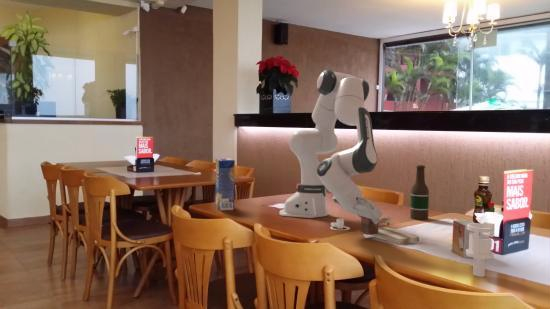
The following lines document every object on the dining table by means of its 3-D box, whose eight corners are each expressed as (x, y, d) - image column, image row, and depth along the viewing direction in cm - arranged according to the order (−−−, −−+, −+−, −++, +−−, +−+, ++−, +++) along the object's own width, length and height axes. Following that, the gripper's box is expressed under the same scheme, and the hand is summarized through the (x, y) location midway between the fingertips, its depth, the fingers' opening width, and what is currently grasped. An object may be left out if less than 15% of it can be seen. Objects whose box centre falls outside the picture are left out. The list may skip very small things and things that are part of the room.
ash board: (399, 244, 165) (399, 238, 165) (368, 233, 181) (368, 228, 181) (419, 242, 169) (419, 236, 169) (386, 231, 185) (387, 226, 185)
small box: (451, 251, 157) (452, 219, 157) (467, 251, 158) (468, 219, 157) (463, 258, 149) (464, 225, 149) (480, 257, 150) (481, 224, 149)
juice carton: (234, 209, 230) (234, 160, 229) (219, 210, 228) (219, 160, 227) (229, 205, 242) (230, 158, 240) (215, 206, 240) (215, 158, 238)
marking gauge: (368, 234, 172) (368, 210, 172) (360, 232, 176) (361, 208, 176) (393, 232, 177) (394, 208, 176) (385, 229, 181) (386, 206, 180)
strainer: (487, 280, 127) (489, 225, 126) (461, 275, 132) (463, 221, 131) (496, 274, 132) (498, 221, 131) (470, 269, 137) (472, 218, 136)
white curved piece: (329, 226, 196) (329, 216, 196) (348, 226, 196) (348, 217, 196) (330, 231, 187) (331, 220, 187) (351, 231, 187) (351, 221, 187)
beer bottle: (429, 220, 209) (430, 166, 207) (410, 219, 210) (412, 165, 209) (427, 217, 216) (428, 165, 215) (409, 216, 218) (410, 164, 217)
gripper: (372, 193, 162) (394, 220, 166) (339, 186, 180) (360, 210, 185) (361, 207, 160) (383, 233, 165) (329, 198, 179) (350, 222, 183)
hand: (371, 221), depth 175 cm, fingers closed on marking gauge, 4 cm apart
